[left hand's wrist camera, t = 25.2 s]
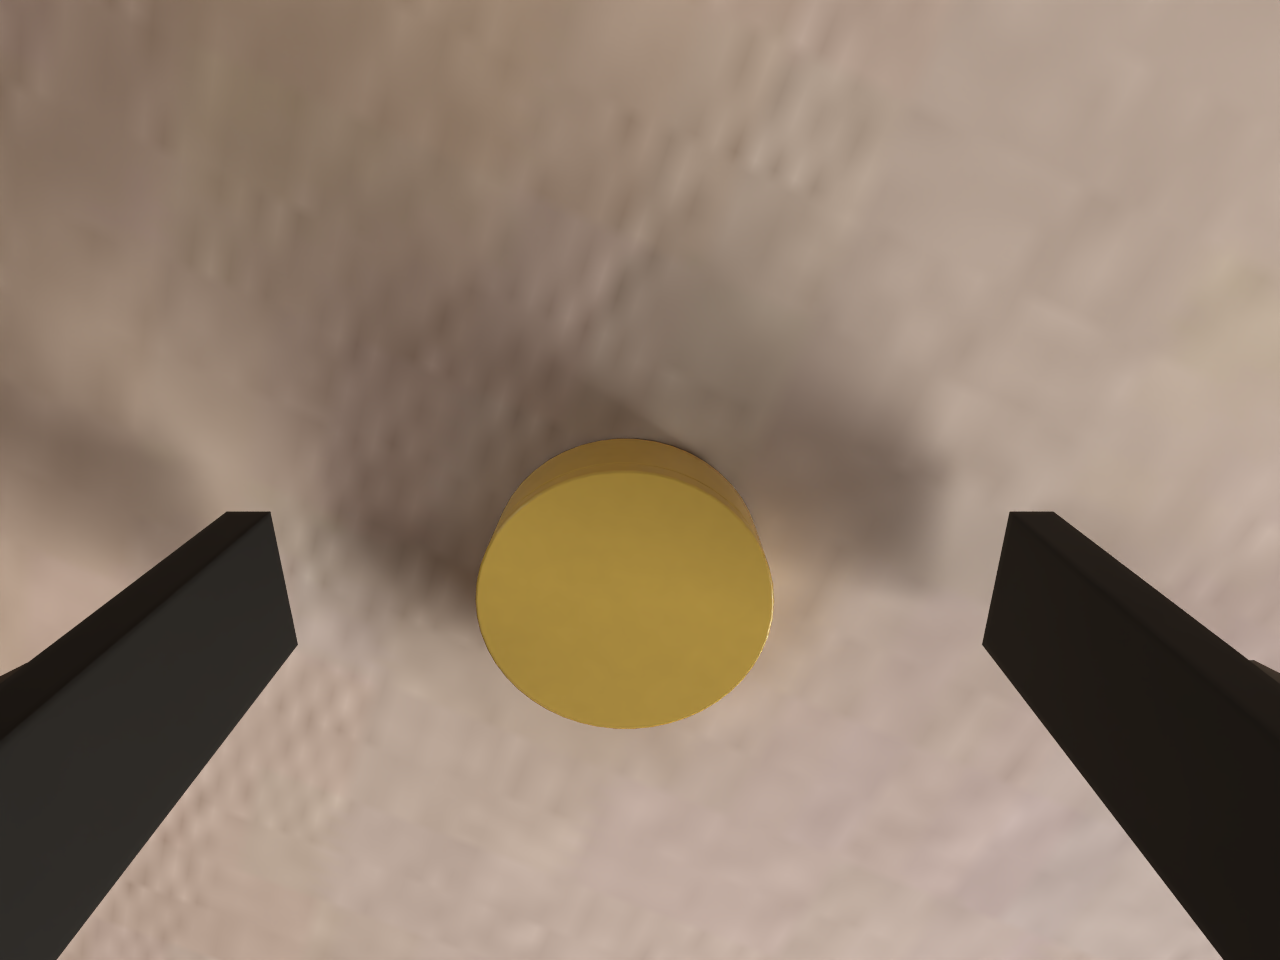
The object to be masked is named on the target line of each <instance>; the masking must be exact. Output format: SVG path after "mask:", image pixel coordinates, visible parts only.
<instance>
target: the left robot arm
mask: <svg viewBox="0 0 1280 960" xmlns="http://www.w3.org/2000/svg"><path fill="white" fill-rule="evenodd" d="M297 645H298V643H297V638H296V633H295V629H294V624H293V619H292V614H291V609H290V604H289V600H288V595H287V590H286V585H285V580H284V575H283V571H282V566H281V561H280V556H279V551H278V546H277V542H276V537H275V532H274V527H273V522H272V517H271V513H270V512H226V513H224V514H223V515H222V516H220V517H219V518H218V519H216V520H215V521H214V522H212V523H211V524H210V525H208V526H207V527H206V528H205V529H203V530H202V531H201V532H199V533H198V534H197V535H195V536H194V537H193V538H191V539H190V540H189V541H187V542H186V543H185V544H183V545H182V546H181V547H180V548H178V549H177V550H176V551H174V552H173V553H172V554H170V555H169V556H168V557H166V558H165V559H164V560H162V561H161V562H160V563H158V564H157V565H156V566H154V567H153V568H152V569H151V570H149V571H148V572H147V573H145V574H144V575H143V576H141V577H140V578H139V579H137V580H136V581H135V582H133V583H132V584H131V585H129V586H128V587H127V588H126V589H124V590H123V591H122V592H120V593H119V594H118V595H116V596H115V597H114V598H112V599H111V600H110V601H108V602H107V603H106V604H104V605H103V606H102V607H101V608H99V609H98V610H97V611H95V612H94V613H93V614H91V615H90V616H89V617H87V618H86V619H85V620H83V621H82V622H81V623H79V624H78V625H77V626H75V627H74V628H73V629H72V630H70V631H69V632H68V633H66V634H65V635H64V636H62V637H61V638H60V639H58V640H57V641H56V642H54V643H53V644H52V645H50V646H49V647H48V648H47V649H45V650H44V651H43V652H41V653H40V654H39V655H37V656H36V657H35V658H33V659H32V660H31V661H29V662H28V663H26V664H24V665H22V666H20V667H18V668H16V669H14V670H12V671H10V672H8V673H6V674H4V675H2V676H0V960H57V958H58V957H59V956H60V954H61V953H62V952H63V951H64V949H65V948H66V947H67V945H68V944H69V943H70V941H71V940H72V939H73V938H74V936H75V935H76V934H77V932H78V931H79V930H80V928H81V927H82V926H83V924H84V923H85V922H86V921H87V919H88V918H89V917H90V915H91V914H92V913H93V911H94V910H95V909H96V907H97V906H98V905H99V904H100V902H101V901H102V900H103V898H104V897H105V896H106V894H107V893H108V892H109V891H110V889H111V888H112V887H113V885H114V884H115V883H116V881H117V880H118V879H119V877H120V876H121V875H122V874H123V872H124V871H125V870H126V868H127V867H128V866H129V864H130V863H131V862H132V860H133V859H134V858H135V857H136V855H137V854H138V853H139V851H140V850H141V849H142V847H143V846H144V845H145V844H146V842H147V841H148V840H149V838H150V837H151V836H152V834H153V833H154V832H155V830H156V829H157V828H158V827H159V825H160V824H161V823H162V821H163V820H164V819H165V817H166V816H167V815H168V813H169V812H170V811H171V810H172V808H173V807H174V806H175V804H176V803H177V802H178V800H179V799H180V798H181V796H182V795H183V794H184V793H185V791H186V790H187V789H188V787H189V786H190V785H191V783H192V782H193V781H194V780H195V778H196V777H197V776H198V774H199V773H200V772H201V770H202V769H203V768H204V766H205V765H206V764H207V763H208V761H209V760H210V759H211V757H212V756H213V755H214V753H215V752H216V751H217V749H218V748H219V747H220V746H221V744H222V743H223V742H224V740H225V739H226V738H227V736H228V735H229V734H230V733H231V731H232V730H233V729H234V727H235V726H236V725H237V723H238V722H239V721H240V719H241V718H242V717H243V716H244V714H245V713H246V712H247V710H248V709H249V708H250V706H251V705H252V704H253V702H254V701H255V700H256V699H257V697H258V696H259V695H260V693H261V692H262V691H263V689H264V688H265V687H266V685H267V684H268V683H269V682H270V680H271V679H272V678H273V676H274V675H275V674H276V672H277V671H278V670H279V669H280V667H281V666H282V665H283V663H284V662H285V661H286V659H287V658H288V657H289V655H290V654H291V653H292V652H293V650H294V649H295V648H296V646H297ZM982 645H983V646H984V648H985V649H986V650H987V652H988V653H989V654H990V655H991V657H992V658H993V659H994V661H995V662H996V663H997V665H998V666H999V667H1000V669H1001V670H1002V671H1003V672H1004V674H1005V675H1006V676H1007V678H1008V679H1009V680H1010V682H1011V683H1012V684H1013V686H1014V687H1015V688H1016V689H1017V691H1018V692H1019V693H1020V695H1021V696H1022V697H1023V699H1024V700H1025V701H1026V702H1027V704H1028V705H1029V706H1030V708H1031V709H1032V710H1033V712H1034V713H1035V714H1036V716H1037V717H1038V718H1039V719H1040V721H1041V722H1042V723H1043V725H1044V726H1045V727H1046V729H1047V730H1048V731H1049V733H1050V734H1051V735H1052V736H1053V738H1054V739H1055V740H1056V742H1057V743H1058V744H1059V746H1060V747H1061V748H1062V749H1063V751H1064V752H1065V753H1066V755H1067V756H1068V757H1069V759H1070V760H1071V761H1072V763H1073V764H1074V765H1075V766H1076V768H1077V769H1078V770H1079V772H1080V773H1081V774H1082V776H1083V777H1084V778H1085V780H1086V781H1087V782H1088V783H1089V785H1090V786H1091V787H1092V789H1093V790H1094V791H1095V793H1096V794H1097V795H1098V797H1099V798H1100V799H1101V800H1102V802H1103V803H1104V804H1105V806H1106V807H1107V808H1108V810H1109V811H1110V812H1111V813H1112V815H1113V816H1114V817H1115V819H1116V820H1117V821H1118V823H1119V824H1120V825H1121V827H1122V828H1123V829H1124V830H1125V832H1126V833H1127V834H1128V836H1129V837H1130V838H1131V840H1132V841H1133V842H1134V844H1135V845H1136V846H1137V847H1138V849H1139V850H1140V851H1141V853H1142V854H1143V855H1144V857H1145V858H1146V859H1147V860H1148V862H1149V863H1150V864H1151V866H1152V867H1153V868H1154V870H1155V871H1156V872H1157V874H1158V875H1159V876H1160V877H1161V879H1162V880H1163V881H1164V883H1165V884H1166V885H1167V887H1168V888H1169V889H1170V891H1171V892H1172V893H1173V894H1174V896H1175V897H1176V898H1177V900H1178V901H1179V902H1180V904H1181V905H1182V906H1183V908H1184V909H1185V910H1186V911H1187V913H1188V914H1189V915H1190V917H1191V918H1192V919H1193V921H1194V922H1195V923H1196V924H1197V926H1198V927H1199V928H1200V930H1201V931H1202V932H1203V934H1204V935H1205V936H1206V938H1207V939H1208V940H1209V941H1210V943H1211V944H1212V945H1213V947H1214V948H1215V949H1216V951H1217V952H1218V953H1219V955H1220V956H1221V957H1222V958H1223V960H1280V673H1278V672H1276V671H1274V670H1272V669H1270V668H1268V667H1266V666H1264V665H1262V664H1260V663H1258V662H1256V661H1254V660H1248V659H1247V658H1245V657H1244V656H1243V655H1241V654H1240V653H1239V652H1237V651H1236V650H1235V649H1233V648H1232V647H1231V646H1230V645H1228V644H1227V643H1226V642H1224V641H1223V640H1222V639H1220V638H1219V637H1218V636H1216V635H1215V634H1214V633H1212V632H1211V631H1210V630H1208V629H1207V628H1206V627H1204V626H1203V625H1202V624H1201V623H1199V622H1198V621H1197V620H1195V619H1194V618H1193V617H1191V616H1190V615H1189V614H1187V613H1186V612H1185V611H1183V610H1182V609H1181V608H1179V607H1178V606H1177V605H1176V604H1174V603H1173V602H1172V601H1170V600H1169V599H1168V598H1166V597H1165V596H1164V595H1162V594H1161V593H1160V592H1158V591H1157V590H1156V589H1154V588H1153V587H1152V586H1151V585H1149V584H1148V583H1147V582H1145V581H1144V580H1143V579H1141V578H1140V577H1139V576H1137V575H1136V574H1135V573H1133V572H1132V571H1131V570H1129V569H1128V568H1127V567H1125V566H1124V565H1123V564H1122V563H1120V562H1119V561H1118V560H1116V559H1115V558H1114V557H1112V556H1111V555H1110V554H1108V553H1107V552H1106V551H1104V550H1103V549H1102V548H1100V547H1099V546H1098V545H1097V544H1095V543H1094V542H1093V541H1091V540H1090V539H1089V538H1087V537H1086V536H1085V535H1083V534H1082V533H1081V532H1079V531H1078V530H1077V529H1075V528H1074V527H1073V526H1072V525H1070V524H1069V523H1068V522H1066V521H1065V520H1064V519H1062V518H1061V517H1060V516H1058V515H1057V514H1056V513H1054V512H1010V513H1009V517H1008V522H1007V527H1006V532H1005V537H1004V542H1003V546H1002V551H1001V556H1000V561H999V566H998V571H997V575H996V580H995V585H994V590H993V595H992V600H991V604H990V609H989V614H988V619H987V624H986V629H985V633H984V638H983V643H982Z"/></svg>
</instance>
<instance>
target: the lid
mask: <svg viewBox="0 0 1280 960" xmlns="http://www.w3.org/2000/svg"><path fill="white" fill-rule="evenodd" d="M773 607H774V594H773V583H772V578H771V573H770V569H769V566H768V563H767V560H766V557H765V554H764V551H763V548H762V545H761V542H760V539H759V537H758V534H757V531H756V528H755V525H754V523H753V520H752V517H751V515H750V512H749V510H748V509H747V507H746V505H745V503H744V501H743V500H742V498H741V496H740V495H739V494H738V493H737V491H736V490H735V489H734V487H733V486H732V485H731V484H730V483H729V482H728V481H727V480H726V479H725V478H724V477H723V476H722V475H721V474H720V473H719V472H718V471H717V470H715V469H714V468H713V467H711V466H710V465H709V464H707V463H706V462H705V461H703V460H701V459H699V458H698V457H696V456H694V455H692V454H690V453H688V452H686V451H683V450H681V449H679V448H676V447H674V446H670V445H667V444H663V443H659V442H655V441H649V440H641V439H610V440H602V441H596V442H592V443H588V444H584V445H580V446H578V447H575V448H573V449H570V450H567V451H565V452H563V453H561V454H559V455H557V456H556V457H554V458H552V459H550V460H548V461H547V462H546V463H544V464H543V465H541V466H540V467H539V468H537V469H536V470H535V471H534V472H532V473H531V474H530V475H529V476H528V477H527V478H526V479H525V480H524V481H523V482H522V483H521V485H520V486H519V487H518V488H517V490H516V491H515V492H514V494H513V495H512V496H511V498H510V500H509V502H508V503H507V505H506V507H505V509H504V510H503V513H502V515H501V517H500V520H499V522H498V524H497V526H496V529H495V531H494V533H493V535H492V538H491V540H490V542H489V545H488V547H487V549H486V552H485V554H484V557H483V560H482V562H481V565H480V569H479V573H478V578H477V583H476V611H477V618H478V622H479V627H480V631H481V634H482V636H483V639H484V641H485V644H486V646H487V649H488V651H489V652H490V654H491V656H492V658H493V659H494V661H495V663H496V664H497V666H498V667H499V668H500V670H501V671H502V672H503V674H504V675H505V676H506V677H507V678H508V679H509V680H510V681H511V682H512V683H513V684H514V686H515V687H516V688H517V689H518V690H520V691H521V692H522V693H524V694H525V695H526V696H527V697H529V698H530V699H531V700H533V701H534V702H536V703H537V704H539V705H541V706H542V707H544V708H546V709H547V710H549V711H552V712H554V713H556V714H558V715H560V716H562V717H565V718H568V719H571V720H574V721H577V722H580V723H584V724H588V725H593V726H597V727H606V728H615V729H636V728H647V727H654V726H659V725H664V724H669V723H672V722H675V721H678V720H681V719H684V718H687V717H689V716H691V715H694V714H696V713H698V712H700V711H702V710H704V709H706V708H708V707H709V706H711V705H713V704H714V703H716V702H718V701H719V700H720V699H721V698H723V697H724V696H725V695H727V694H728V693H729V692H730V691H732V690H733V689H734V688H735V687H736V686H737V685H738V684H739V683H740V682H741V681H742V680H743V679H744V677H745V676H746V675H747V673H748V672H749V671H750V670H751V668H752V667H753V666H754V664H755V662H756V660H757V659H758V657H759V655H760V654H761V652H762V650H763V647H764V645H765V642H766V640H767V637H768V635H769V631H770V627H771V623H772V618H773Z"/></svg>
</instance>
